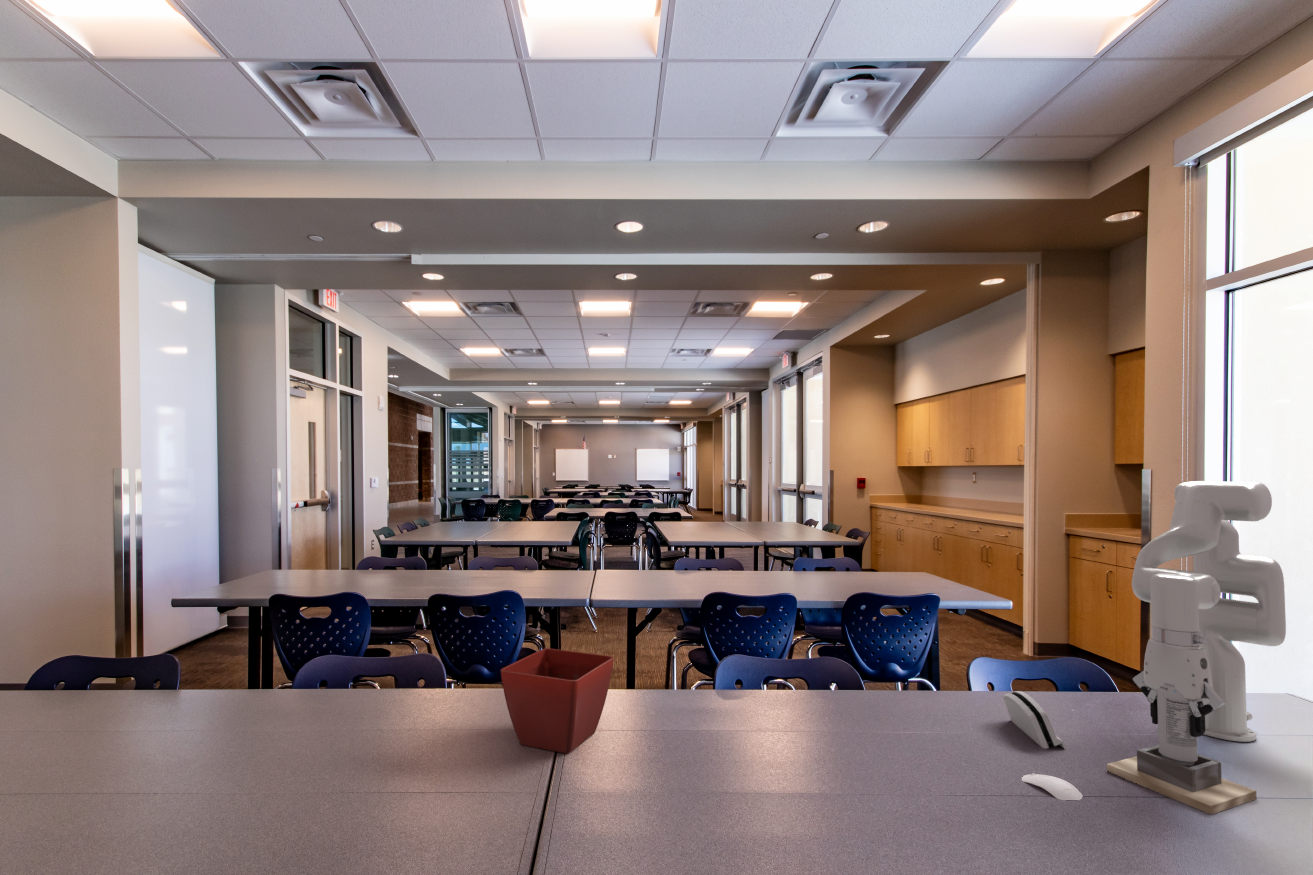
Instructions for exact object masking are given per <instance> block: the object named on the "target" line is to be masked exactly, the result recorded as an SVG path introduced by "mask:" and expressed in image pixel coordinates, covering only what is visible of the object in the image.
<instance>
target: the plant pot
mask: <svg viewBox="0 0 1313 875" xmlns="http://www.w3.org/2000/svg"><path fill="white" fill-rule="evenodd" d="M613 667H614V656H611V655H603V654H596V653H590V652H589V653H588V652H582V651H581V652H580V651H571V650H564V649H556V648H543V649H540V650H537V651H535V652H534V653H532V654H529V655H527V656H525V657H522V658H521V659H518V660H517V661H514V662H512V663H510V664H509V665H506V666H505V667H502V668H501V669H500V676H501V677H500V678H501V683H502V689H503V694H504V699H505V703H506V707H507V710H508V713H509V717H510V720H511V724H512V727H513V730H514V732H515V734H516V735H515V736H516V737H517V741H518V743H519V744H520V745H521V746H524V747H525V746H526V747H531V748H535V749H542V750H546V751H553V752H558V753H562V754H570V753H572V752H573V751H574V750H575V749H576V748H578V747H579V746H581V745H583V743H584V742H586V740H588V739H589V738H591V736H593V735H595V733H596V731H597V728H598V725H599V722H600V720H601V717H602V713H603V711H604V708H605V704H606V701H607V700H606V699H607V695H608V692H609V687H610V682H611V677H612V672H613Z"/></svg>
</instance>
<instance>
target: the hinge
mask: <svg viewBox="0 0 1313 875" xmlns="http://www.w3.org/2000/svg"><path fill="white" fill-rule="evenodd" d="M1002 698H1003V701H1004V704H1005V706H1006V710H1007V713H1008V717H1009V719H1010V721H1011V722H1012V723H1013V724H1014V725H1016V726H1017V727H1018V728H1019V729H1020V730H1021V731H1023V733H1025V734H1026V735H1027V736H1028V737H1029V738H1030V739H1031V740H1033V741H1034V742H1035V743H1036V744H1038V746H1040V747H1041V748H1042V749H1049V748H1050V747H1049V746H1050V745H1051V746H1052V745H1053V746H1054V747H1057V746H1058V745H1059V747H1060V748H1062V749H1063V748H1064V749H1063V750H1067V747H1066V744H1065V742H1064V741H1063V740H1062V739H1061V738H1060V737H1059V736H1057V735H1056V733H1055V730H1054V728H1053V726H1052V723H1051V721H1050V718H1049V716H1048V714H1047V713H1046V711H1045V710H1044V708H1042V707H1041V706H1040V704H1039V703H1038V702H1037V701H1036V700H1035V699H1034V698H1033V697H1031V695H1029V694H1027V693H1026V692H1023V691H1020V690H1016V691H1012V692H1011V693H1010V692H1009V693H1006V694H1004V695H1003V696H1002Z"/></svg>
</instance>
